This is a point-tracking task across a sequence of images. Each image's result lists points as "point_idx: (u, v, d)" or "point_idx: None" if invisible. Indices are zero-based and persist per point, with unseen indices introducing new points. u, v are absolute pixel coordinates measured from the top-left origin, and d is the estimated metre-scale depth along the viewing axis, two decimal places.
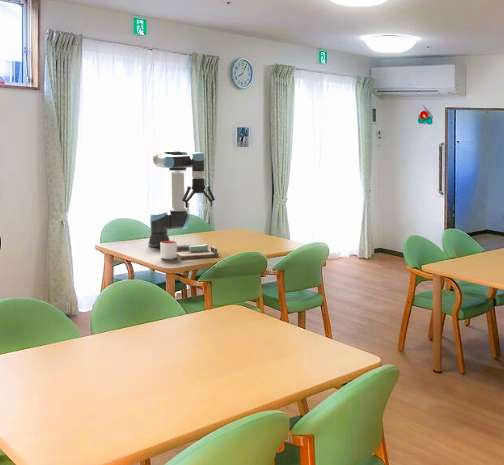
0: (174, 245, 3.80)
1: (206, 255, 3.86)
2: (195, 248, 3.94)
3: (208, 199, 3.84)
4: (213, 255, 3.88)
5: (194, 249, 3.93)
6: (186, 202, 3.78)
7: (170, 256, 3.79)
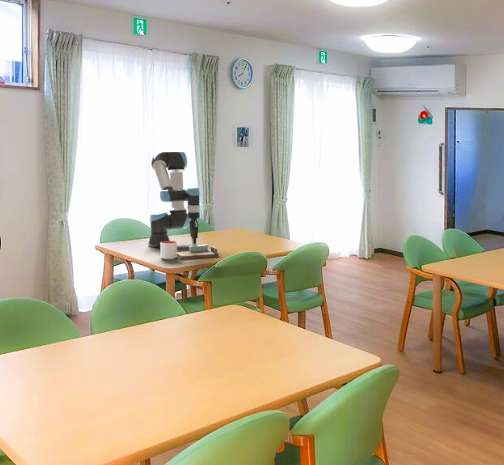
0: (174, 245, 3.80)
1: (206, 255, 3.86)
2: (195, 248, 3.94)
3: None
4: (213, 255, 3.88)
5: (194, 249, 3.93)
6: (192, 238, 3.97)
7: (170, 256, 3.79)
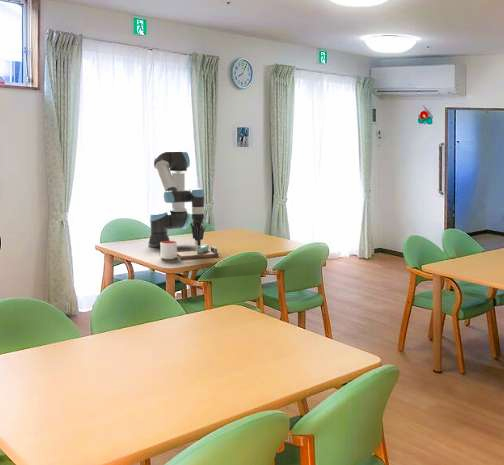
0: (174, 245, 3.80)
1: (206, 255, 3.86)
2: (203, 249, 3.90)
3: None
4: (213, 255, 3.88)
5: (203, 250, 3.90)
6: (196, 239, 3.91)
7: (170, 256, 3.79)
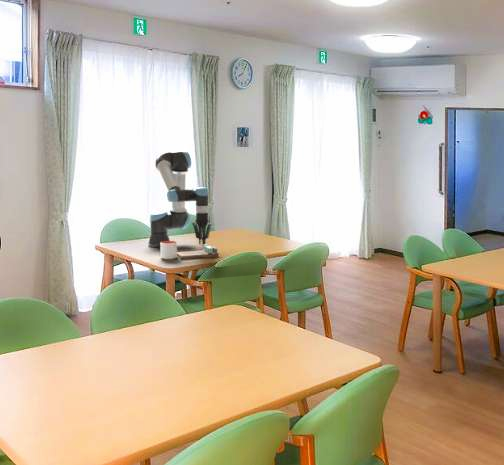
0: (174, 245, 3.80)
1: (206, 255, 3.86)
2: None
3: None
4: (213, 255, 3.88)
5: None
6: (200, 239, 3.89)
7: (170, 256, 3.79)
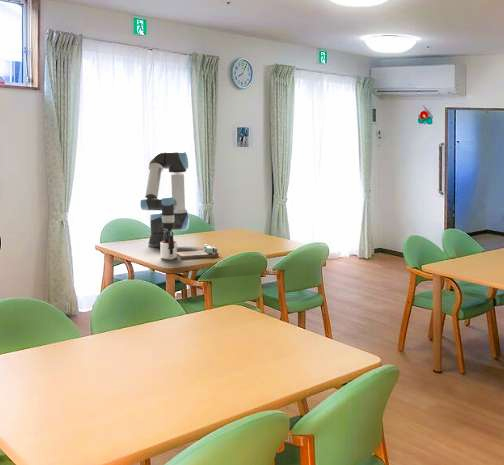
0: (174, 245, 3.80)
1: (206, 255, 3.86)
2: None
3: None
4: (213, 255, 3.88)
5: None
6: None
7: None
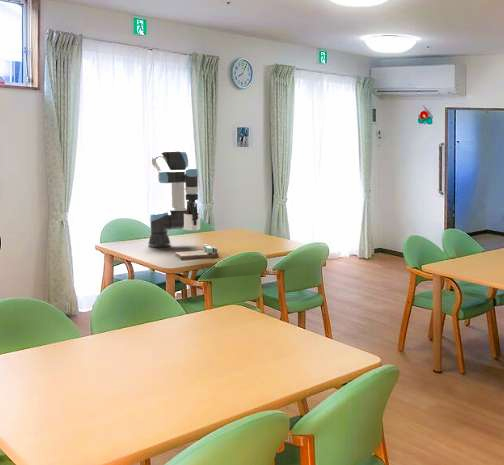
0: (198, 216, 3.82)
1: (206, 255, 3.86)
2: None
3: None
4: (213, 255, 3.88)
5: None
6: None
7: None
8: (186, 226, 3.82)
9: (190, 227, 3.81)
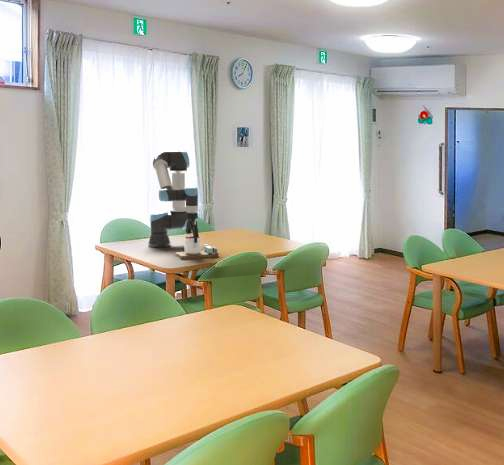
0: (198, 240, 3.84)
1: (206, 255, 3.86)
2: None
3: None
4: (213, 255, 3.88)
5: None
6: (187, 233, 3.95)
7: (194, 251, 3.84)
8: (186, 250, 3.84)
9: (190, 251, 3.83)
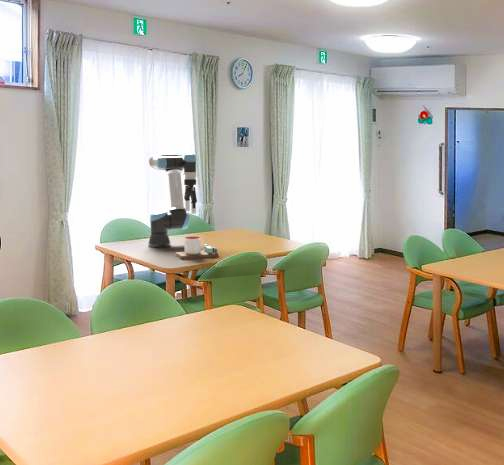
0: (198, 240, 3.85)
1: (206, 255, 3.86)
2: None
3: None
4: (213, 255, 3.88)
5: None
6: None
7: (194, 252, 3.84)
8: (187, 250, 3.84)
9: (191, 251, 3.83)
